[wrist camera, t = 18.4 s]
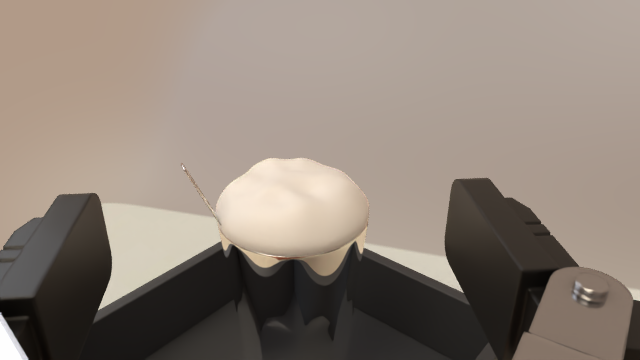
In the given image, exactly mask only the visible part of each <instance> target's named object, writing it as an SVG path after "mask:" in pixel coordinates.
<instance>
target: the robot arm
mask: <svg viewBox="0 0 640 360" xmlns="http://www.w3.org/2000/svg"><path fill="white" fill-rule="evenodd" d="M445 251H446V256H447V260H448V262H449V265H450V267H451V269H452V270H453V272H454V274H455V276H456V278H457V280H458V282H459V284H460V286H461V288H462V290H463V292H464V294H465V296H466V298H467V300H468V302H469V304H470V306H471V308H472V310H473V312H474V314H475V316H476V318H477V320H478V322H479V324H480V326H481V328H482V330H483V332H484V333H485V335H486V337H487V339H488V341H489V343H490V345H491V347H492V349H493V351H494V353H495V355H496V357H497V359H498V360H640V301H637V300H633V297H632V295H631V293H630V291H629V290H628V289H627V288H626V287H625V286H624V285H623V284H622V283H621V282H619V281H618V280H616V279H614V278H613V277H611V276H609V275H607V274H605V273H603V272H599V271H597V270H593V269H589V268H583V267H579V266H578V264H577V263H576V262H575V261H574V260H573V259H572V257H571V256H570V255H569V254H568V253H567V252H566V250H565V249H564V248H563V247H562V246H561V245H560V243H559V242H558V241H557V240H556V239H555V238H554V237H553V235H550V232H549V231H548V230H547V228H546V227H545V226H544V225H543V224H541V221H540V220H539V219H538V218H537V216H536V215H535V214H534V213H533V212H532V211H531V209H530V208H528V207H526V206H525V205H523V204H521V203H520V202H518V201H516V200H514V199H513V198H504V197H503V195H502V194H501V193H500V192H499V190H498V189H497V188H496V187H495V185H494V184H493V183H492V182H491V180H490V179H488V178H473V179H456V180H454V182H453V184H452V188H451V194H450V201H449V209H448V217H447V224H446V232H445ZM111 270H112V256H111V249H110V245H109V240H108V235H107V230H106V225H105V221H104V216H103V211H102V206H101V202H100V199H99V197H98V195H97V194H95V193H87V194H62V195H59V196H57V198H56V199H55V201H54V202H53V204H52V205H51V207H50V208H49V210H48V211H47V212H46V214H45V216H44V217H42V218H33V219H32V220H30V221H29V222H27V223H26V224H24V225H23V226H22V227H20V228H19V229H17V230H16V231H14V233H13V234H12V235H11V237H10V238H9V240H8V241H7V242H6V244H5V245H4V246H3V250H1V251H0V360H78V359H79V357H80V354H81V352H82V349H83V347H84V344H85V342H86V339H87V336H88V334H89V331H90V329H91V326H92V324H93V321H94V319H95V316H96V314H97V311H98V308H99V306H100V303H101V301H102V298H103V296H104V293H105V291H106V288H107V285H108V283H109V280H110V277H111Z"/></svg>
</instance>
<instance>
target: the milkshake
mask: <svg viewBox="0 0 640 360" xmlns="http://www.w3.org/2000/svg"><path fill="white" fill-rule="evenodd" d="M181 166H182V168H183V170H184V171H185V173H186V174H187V176H188V177H189V179H190V180H191V182H192V183H193V185H194V187H195V188H196V189H197V191H198V192H199V194H200V196H201V197H202V199H203V200H204V202H205V203H206V205H207V206H208V208H209V209H210V210H211V212H212V214H213V215H214V217H215V218H216V220H217V223H218V228H219V233H220V238H221V242H222V247H223V251H224V256H225V261H226V265H227V270H228V274H229V279H230V284H231V288H232V293H233V298H234V303H235V308H236V313H237V319H238V325H239V330H240V336H241V342H242V347H243V353H244V358H245V360H347V357H348V350H349V342H350V335H351V327H352V320H353V312H354V304H355V297H356V290H357V284H358V278H359V272H360V266H361V260H362V254H363V248H364V243H365V237H366V231H367V225H368V218H369V203H368V200H367V198H366V196H365V194H364V193H363V192H362V190H361V189H360V188H359V187H358V186H357V185H356V184H355V183H354V182H353V181H352V180H351V179H350V178H349V177H348V176H347V175H346V174H345V173H344V172H343V171H340V170H338V169H335V168H332V167H328V166H324V165H322V164H320V163H317V162H315V161H313V160H311V159H307V158H296V159H277V158H270V159H265V160H263V161H261V162H259V163H258V164H256V165H254V166H253V167H252V168H251V169H250V170H248V171H247V172H246V173H245V174H244V175H242V176H241V177H239V178H237V179H235V180H234V181H233V182H231V183H230V184H229V185H228V186H227V187H226V188H225V190H224V191H223V192H222V194H221V195H220V197H219V199H218V202H217V206H216V213H215V212H214V210H213V209H212V207H211V206H210V204H209V203H208V201H207V200H206V198H205V197H204V195H203V194H202V193H201V191H200V189H199V188H198V186H197V184H196V183H195V182H194V180H193V178H192V177H191V176H190V174H189V173H188V171H187V170H186V168H185V166H184V165H183V163H181Z"/></svg>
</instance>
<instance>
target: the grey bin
mask: <svg viewBox="0 0 640 360" xmlns="http://www.w3.org/2000/svg"><path fill="white" fill-rule="evenodd" d="M78 360H245V358H244V353H243V347H242V342H241V336H240V330H239V325H238V319H237V313H236V308H235V303H234V298H233V293H232V288H231V284H230V279H229V274H228V270H227V265H226V261H225V256H224V251H223V247H222V242H219V243H217V244H215V245H214V246H212V247H210V248H208V249H206V250H205V251H203V252H201V253H199V254H198V255H196V256H194V257H192V258H191V259H189V260H187V261H185V262H183V263H182V264H180V265H178V266H176V267H175V268H173V269H171V270H169V271H167V272H166V273H164V274H162V275H160V276H159V277H157V278H155V279H153V280H152V281H150V282H148V283H146V284H144V285H143V286H141V287H139V288H137V289H136V290H134V291H132V292H130V293H128V294H127V295H125V296H123V297H121V298H120V299H118V300H116V301H114V302H113V303H111V304H109V305H107V306H105V307H104V308H102V309H100V310H98V311H97V314H96V316H95V319H94V321H93V324H92V326H91V329H90V331H89V334H88V336H87V339H86V342H85V344H84V347H83V349H82V352H81V354H80V357H79V359H78ZM347 360H498V359H497V357H496V355H495V353H494V351H493V349H492V347H491V345H490V343H489V341H488V339H487V337H486V335H485V333H484V332H483V330H482V328H481V326H480V324H479V322H478V320H477V318H476V316H475V314H474V312H473V310H472V308H471V306H470V304H469V302H468V300H467V298H466V296H465V294H464V293H462V292H460V291H458V290H456V289H454V288H451V287H449V286H447V285H445V284H443V283H440V282H438V281H436V280H434V279H432V278H429V277H427V276H425V275H423V274H421V273H418V272H416V271H414V270H412V269H410V268H407V267H405V266H403V265H401V264H399V263H396V262H394V261H392V260H390V259H388V258H385V257H383V256H381V255H379V254H377V253H374V252H372V251H370V250H368V249H366V248H363V254H362V260H361V266H360V272H359V278H358V284H357V290H356V297H355V304H354V312H353V320H352V327H351V335H350V342H349V350H348V357H347Z"/></svg>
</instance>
